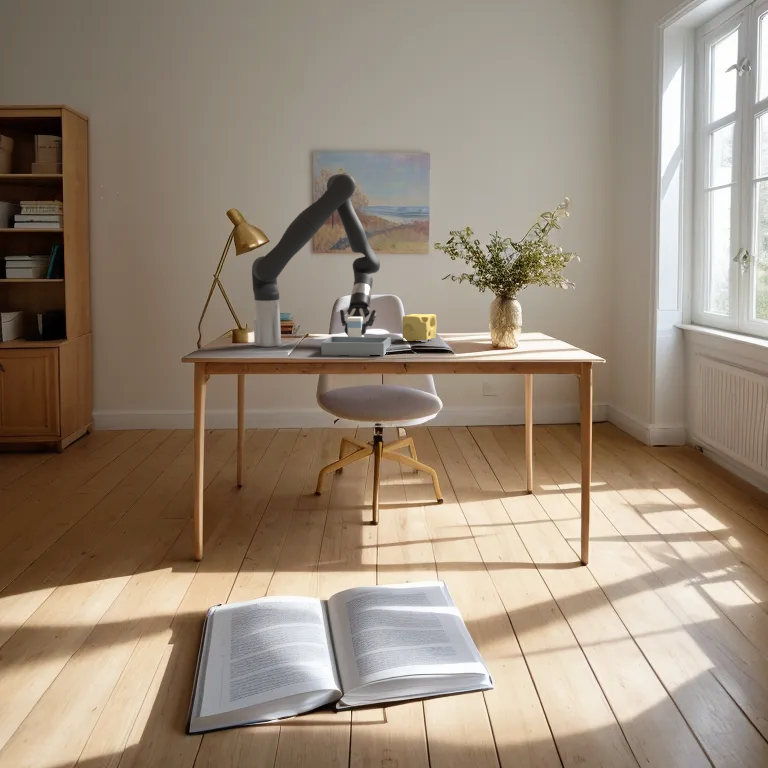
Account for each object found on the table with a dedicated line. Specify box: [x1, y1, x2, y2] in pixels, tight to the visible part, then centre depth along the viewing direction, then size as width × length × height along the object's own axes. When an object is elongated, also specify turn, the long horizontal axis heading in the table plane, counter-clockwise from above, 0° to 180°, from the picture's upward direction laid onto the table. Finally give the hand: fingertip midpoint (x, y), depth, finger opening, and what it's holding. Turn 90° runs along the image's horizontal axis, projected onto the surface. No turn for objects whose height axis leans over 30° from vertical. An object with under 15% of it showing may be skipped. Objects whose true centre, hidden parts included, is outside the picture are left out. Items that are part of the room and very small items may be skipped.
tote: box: [320, 336, 392, 357], centre depth 290 cm, size 22×15×4 cm
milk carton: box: [346, 316, 365, 337], centre depth 303 cm, size 5×5×11 cm
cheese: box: [401, 313, 438, 342], centre depth 317 cm, size 10×11×10 cm
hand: (354, 333), depth 301 cm, fingers closed on milk carton, 5 cm apart
